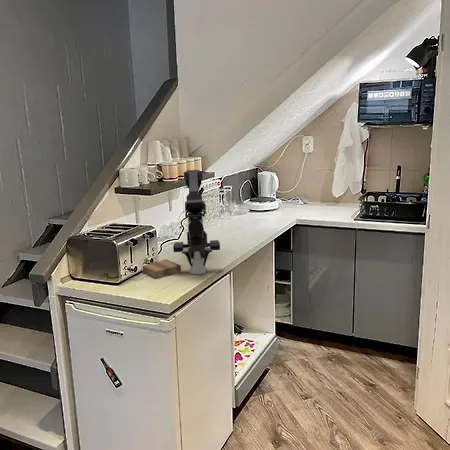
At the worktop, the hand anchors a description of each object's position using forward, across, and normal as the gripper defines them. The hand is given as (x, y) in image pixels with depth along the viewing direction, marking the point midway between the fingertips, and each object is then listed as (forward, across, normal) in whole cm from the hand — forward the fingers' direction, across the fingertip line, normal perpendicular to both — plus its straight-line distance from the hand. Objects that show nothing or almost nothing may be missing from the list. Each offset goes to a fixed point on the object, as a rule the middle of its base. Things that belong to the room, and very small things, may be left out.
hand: (197, 266), depth 187 cm
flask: (+3, 0, 0) cm, 3 cm away
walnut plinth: (+3, -15, +3) cm, 16 cm away
